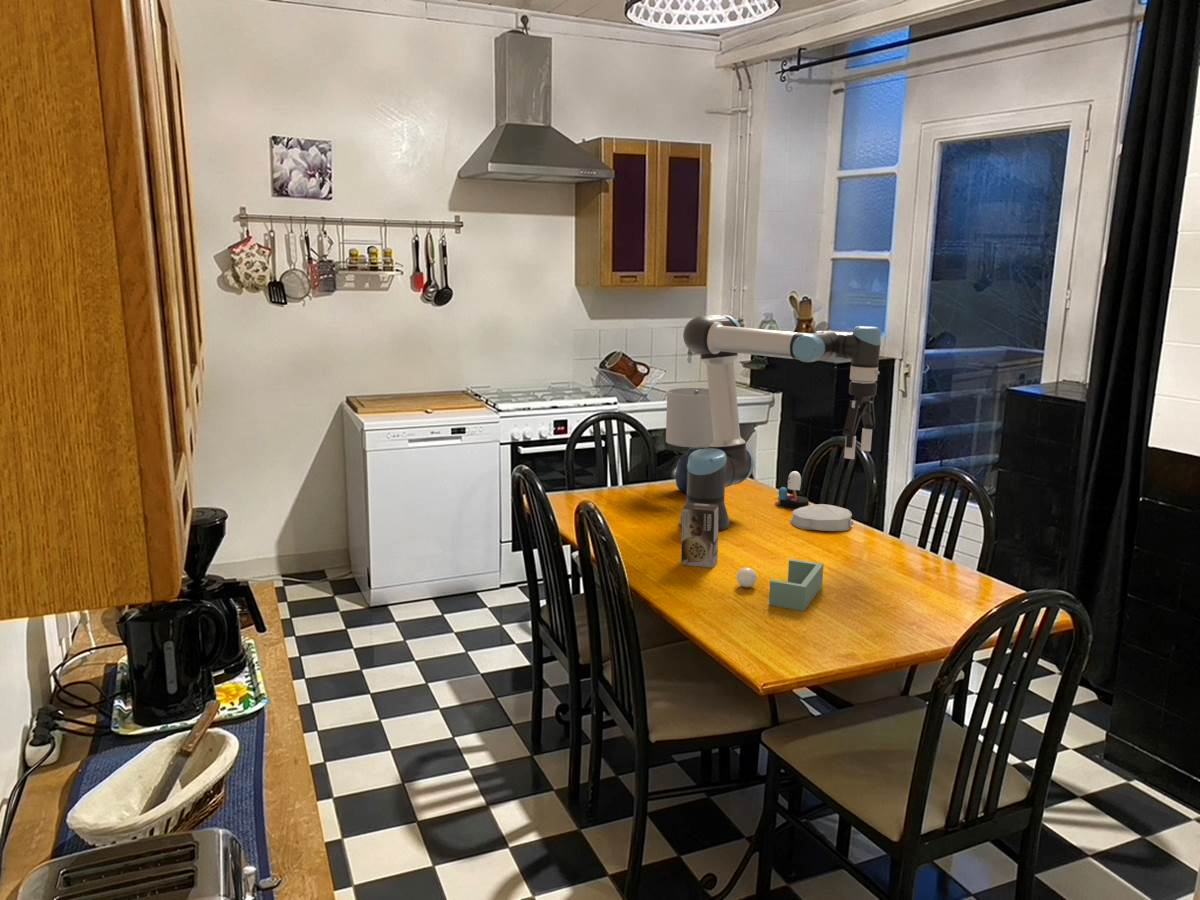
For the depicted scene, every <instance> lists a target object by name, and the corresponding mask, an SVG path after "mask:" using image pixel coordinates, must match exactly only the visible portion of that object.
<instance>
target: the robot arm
mask: <svg viewBox="0 0 1200 900" xmlns="http://www.w3.org/2000/svg"><path fill="white" fill-rule="evenodd" d="M682 334H683V335H682V336H683V337H682V338H683V342H684V344H685V346H686V348H687V349H689V350H690V351H691V352H692V353H695V354H698V355H700V360H701V361H702V362H703V363H704V364H705V365H706V374H707V376H706V377H707V385H708V386H707V387H708V388H709V398H710V408H711V419H712V430H713V441H712V442H711V443H710V444H709V447H705V448H699V449H700V450H696V451H694V452H692V453H691V454H690V455H689V458H688V464H687V469H688V470H687V493H686V500H685V504H684V506H685V505H686V504H687V503H688V502H689V503H702V504H713V505H719V524H718V532H720V531H721V532H722V531H725V530H727V529H729V528H730V517H729V514H728V511H727V507H726V504H725V495H726V494H725V493H726V489H725V488H729V487H731V486H734V485H739V484H740V483H742V482H744V481H746V480H747V479H748V478H749V477H750V476H751V475H752V473H753V470H754V467H755V461H754V457H753V454H752V452H751V451H749V449H748V448H747V442H746V440H745V439H743V438H742V437H741V431H740V430H741V429H740V421H739V420H740V419H739V408H738V406H739V405H738V398H737V386H736V385H737V384H736V375H735V363H734V362H735V361H736V359H737V358H738V356H739V354H743V355H745V354H746V355H751V356H763V357H771V358H772V357H773V358H783V359H792V360H798V361H801V362H803V363H814V362H818V361H822V360H829V359H844V360H850V361H851V362H850V363H851V364H850V371H849V372H850V373H849V379H850V380H851V381H850V382H849V385H848V386H849V387H848V394H849V395H850V396H853V397H854V399H853V400H851V399H850V400H849V401H848V402H849V403H848V404H849V405H848V409H847V414H846V418H845V422H844V427H843V430H842V436H845V440H844V441H845V443H844V454H843V459H850V460H855V456H856V454H855V453H856V443H857V442H856V441H857V436H856V433H857V429H858V427H859V424H860V421H862V425H863V428H862V432H861V440H860V441H861V443H860V451H862V452H863V451H864V452H871V450H872V439H873V438H872V437H873V430H876V428H877V425H876V415H875V414H876V412H875V406H874V403H875V397H876V395H877V390H878V389H877V388H878V383H877V381H878V375H880V373H881V372H880V371H879V362H880V353H881V345H882V342H881V338H882V337H881V334H882V331H881V328H879V327H877V326H865V325H859V326H855V327H854V328H853V331H852V332H843V331H841V332H840V331H830V330H817V331H815V332H814V333H809V332H794V331H784V330H776V329H775V330H772V329H764V328H763V329H761V328H752V327H751V328H750V327H741V325H740V323H739V322H738V320H736V319H735V318H734V317H732V316H730V315H728V314H727V315H725V314H712V315H701V316H695V317H694V318H692V319H690V320H689V321H688V322H687V323H686V325H685V327H684V330H683V333H682ZM679 523H680V526H681V527H682V514H680V522H679Z"/></svg>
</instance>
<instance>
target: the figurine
mask: <svg viewBox="0 0 1200 900" xmlns="http://www.w3.org/2000/svg"><path fill="white" fill-rule="evenodd" d="M801 483H802V477H801V474H800V473H799V472H798V471H796V470H794V471H791V472H790V473H789V475H788V476H787V488H786V487H784V486H782V487H780V488H779V489H778V496H777V499H778V501H775V502H774V504H775V505H777V506H780V507H782V508H785V509H790V510H796V509H798V508H801V507H805V506H809V505H810V503H809V502H810V501H809V498H807V497H805V496H801V495H797V494H798V493H797V491H800V489H801ZM788 490H792V494H790V495H788Z"/></svg>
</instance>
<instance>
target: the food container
mask: <svg viewBox="0 0 1200 900" xmlns="http://www.w3.org/2000/svg"><path fill="white" fill-rule="evenodd" d="M852 516H853V514H852V511H851V510H849V509H847V508H844V507H842V506H841V507H840V506H838V505H832V504H824V503H818V504H809V505H808V506H805V507H801V508H798V509H793V511H792V518H791V519H790V520H789V522H790V523H791V525H793V526H794V527H796V528H797V529H798V528H799V529H801V530H814V531H821V532H823V531H824V532H825V531H826V532H844V531H848V530H850V529H851V528H852V527H854V526H855V523H854V521H853V520H852Z"/></svg>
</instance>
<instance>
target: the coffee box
mask: <svg viewBox="0 0 1200 900" xmlns="http://www.w3.org/2000/svg"><path fill="white" fill-rule="evenodd" d="M685 504H686V503H685ZM685 504H684V506H683V507H682V508H681V515H682V526H681V555H680V556H681V557H680V558H681V559H680V560H681V561H680V565H682V566H692V567H702V568H710V569H713V568H714V567H716V565H717V563H718V559H719V558H718V555H719V554H718V552H719V550H718V549H719V531H718V524H719V505H713V504H702V503H689V502H688V503H687V504H686V505H685Z"/></svg>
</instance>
